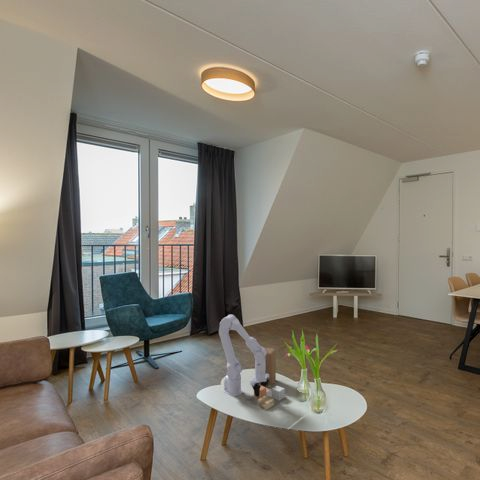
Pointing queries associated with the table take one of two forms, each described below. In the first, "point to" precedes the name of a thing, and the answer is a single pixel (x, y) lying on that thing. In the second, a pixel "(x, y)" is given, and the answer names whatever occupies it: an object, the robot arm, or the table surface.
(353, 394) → the table surface
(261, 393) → the terracotta cube
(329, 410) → the table surface
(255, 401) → the grey square mat
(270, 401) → the maple block
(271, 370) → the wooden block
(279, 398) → the blue-grey cube
